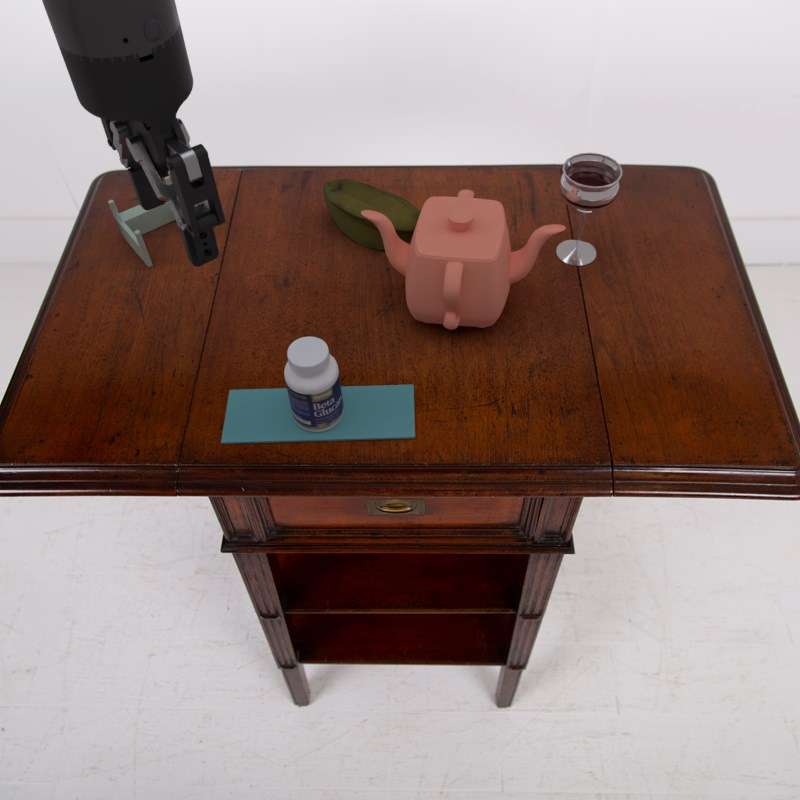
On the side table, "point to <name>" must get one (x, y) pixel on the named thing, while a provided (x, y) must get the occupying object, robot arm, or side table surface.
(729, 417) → the side table surface
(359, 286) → the side table surface
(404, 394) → the strip
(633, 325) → the side table surface
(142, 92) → the robot arm
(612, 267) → the side table surface
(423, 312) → the teapot
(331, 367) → the pill bottle
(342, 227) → the fruit
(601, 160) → the wineglass
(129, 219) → the rack
